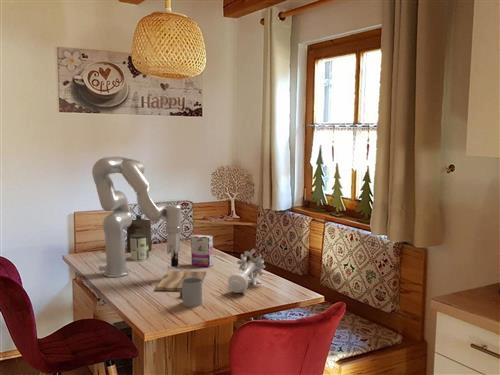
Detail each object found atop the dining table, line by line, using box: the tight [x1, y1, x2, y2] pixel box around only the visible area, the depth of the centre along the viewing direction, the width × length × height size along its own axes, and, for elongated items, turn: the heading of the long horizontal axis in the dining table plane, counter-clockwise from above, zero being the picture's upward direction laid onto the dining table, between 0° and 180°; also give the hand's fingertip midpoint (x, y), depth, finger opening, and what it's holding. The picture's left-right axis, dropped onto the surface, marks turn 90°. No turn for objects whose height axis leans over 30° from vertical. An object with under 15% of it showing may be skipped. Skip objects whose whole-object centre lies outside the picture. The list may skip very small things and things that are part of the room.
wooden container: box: [126, 214, 153, 253], centre depth 320 cm, size 15×15×22 cm
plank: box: [156, 270, 186, 292], centre depth 252 cm, size 9×28×1 cm, turn 178°
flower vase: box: [227, 248, 266, 294], centre depth 241 cm, size 13×18×25 cm
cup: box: [181, 278, 203, 308], centre depth 220 cm, size 8×8×10 cm
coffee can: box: [130, 233, 150, 262], centre depth 298 cm, size 10×10×14 cm
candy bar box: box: [190, 234, 214, 268], centre depth 282 cm, size 11×5×16 cm, turn 68°
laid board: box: [176, 270, 207, 292], centre depth 251 cm, size 10×28×2 cm, turn 178°
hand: (174, 266), depth 257 cm, fingers closed
